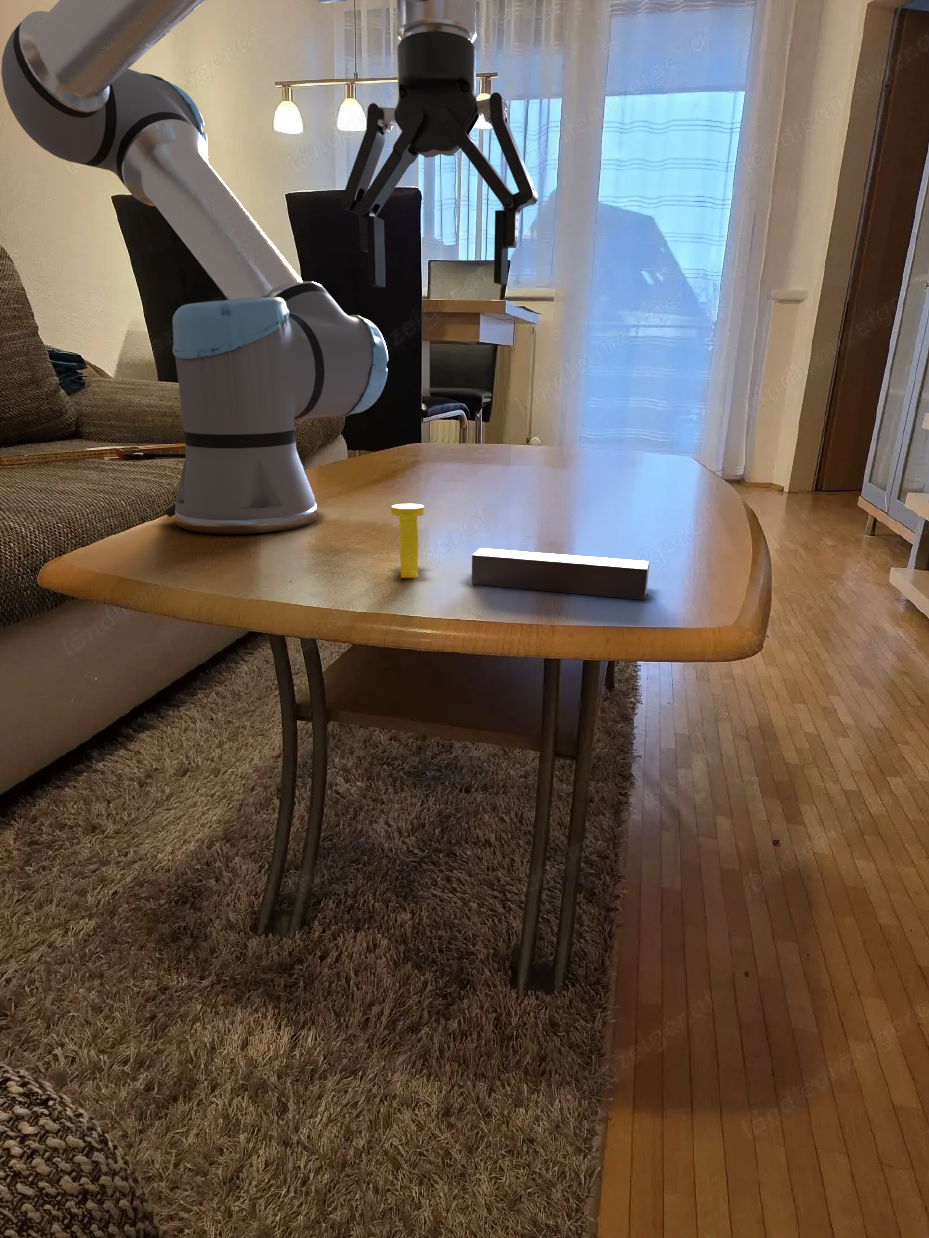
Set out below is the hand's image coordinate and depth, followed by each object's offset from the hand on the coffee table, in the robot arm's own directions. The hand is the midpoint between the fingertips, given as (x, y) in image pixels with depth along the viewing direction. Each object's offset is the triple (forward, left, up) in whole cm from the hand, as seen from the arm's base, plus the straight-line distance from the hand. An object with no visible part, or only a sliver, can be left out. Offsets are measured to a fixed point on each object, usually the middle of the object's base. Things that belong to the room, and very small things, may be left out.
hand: (437, 285), depth 79 cm
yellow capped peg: (+5, -23, -25) cm, 34 cm away
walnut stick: (+18, -23, -25) cm, 38 cm away
